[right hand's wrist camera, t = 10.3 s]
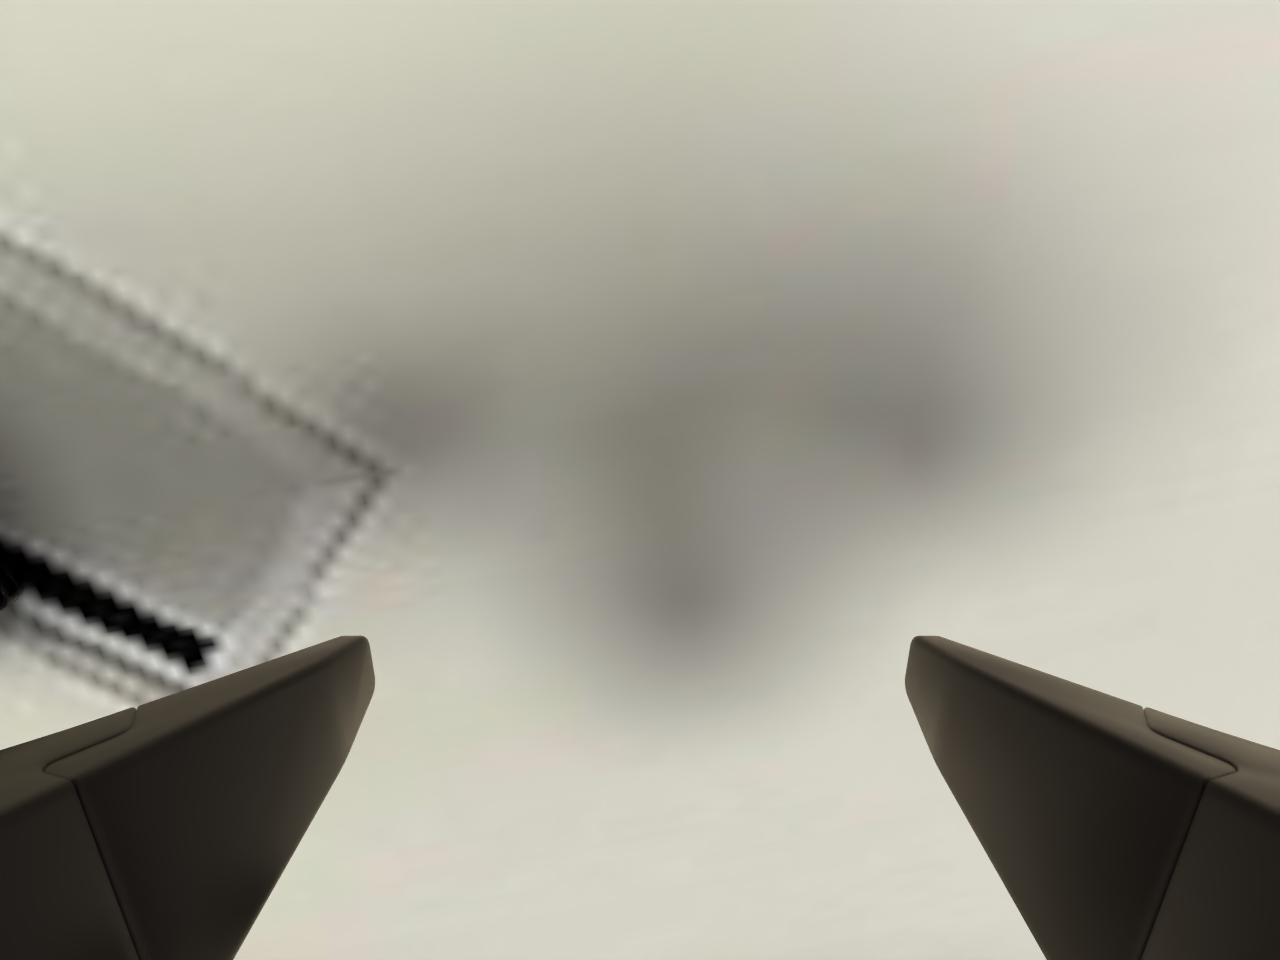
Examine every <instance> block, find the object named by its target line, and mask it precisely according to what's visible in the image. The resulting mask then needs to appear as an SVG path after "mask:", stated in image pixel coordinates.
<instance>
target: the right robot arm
mask: <svg viewBox="0 0 1280 960" xmlns="http://www.w3.org/2000/svg"><path fill="white" fill-rule="evenodd" d="M18 595H19V592H18V588H17V586H16V585H15V583H14V582H13V581H12V580H11V579H10V578H9V576H8V575H7V574H6V573H5V572H4V571H3V570H2V569H1V567H0V610H2V609H3V608H5V607H7V606H8V605H10V604H11V603H13V602H14V601H16V600H17V598H18ZM374 687H375V675H374V669H373V663H372V657H371V651H370V645H369V642H368V640H367V638H366V637H364V636H340V637H337V638H334V639H332V640H329V641H326V642H323V643H320V644H317V645H314V646H311V647H308V648H306V649H303V650H300V651H297V652H294V653H291V654H288V655H285V656H282V657H279V658H277V659H274V660H271V661H268V662H265V663H262V664H259V665H256V666H253V667H250V668H248V669H245V670H242V671H239V672H236V673H233V674H230V675H227V676H224V677H222V678H219V679H216V680H213V681H210V682H207V683H204V684H201V685H198V686H195V687H193V688H190V689H187V690H184V691H181V692H178V693H175V694H172V695H169V696H166V697H164V698H161V699H158V700H155V701H152V702H149V703H146V704H143V705H140V706H139V707H138V708H137V710H136V709H135V708H129V709H126V710H123V711H120V712H117V713H114V714H112V715H109V716H106V717H103V718H100V719H97V720H94V721H91V722H88V723H85V724H82V725H79V726H76V727H73V728H70V729H67V730H63V731H60V732H57V733H54V734H51V735H48V736H44V737H41V738H38V739H35V740H32V741H29V742H25V743H22V744H19V745H16V746H13V747H9V748H6V749H3V750H0V960H233V959H234V957H235V956H236V954H237V952H238V950H239V948H240V947H241V945H242V943H243V941H244V940H245V938H246V936H247V934H248V933H249V931H250V929H251V927H252V926H253V924H254V922H255V920H256V919H257V917H258V915H259V913H260V911H261V910H262V908H263V906H264V904H265V903H266V901H267V899H268V897H269V896H270V894H271V892H272V890H273V889H274V887H275V885H276V883H277V881H278V880H279V878H280V876H281V874H282V873H283V871H284V869H285V867H286V866H287V864H288V862H289V860H290V859H291V857H292V855H293V853H294V851H295V850H296V848H297V846H298V844H299V843H300V841H301V839H302V837H303V836H304V834H305V832H306V830H307V829H308V827H309V825H310V823H311V822H312V820H313V818H314V816H315V814H316V813H317V811H318V809H319V807H320V806H321V804H322V802H323V800H324V799H325V797H326V795H327V793H328V792H329V790H330V788H331V786H332V784H333V783H334V781H335V779H336V777H337V776H338V774H339V772H340V770H341V768H342V766H343V764H344V763H345V760H346V758H347V756H348V754H349V752H350V749H351V747H352V744H353V742H354V739H355V737H356V735H357V732H358V730H359V727H360V725H361V722H362V720H363V718H364V715H365V713H366V710H367V708H368V705H369V703H370V701H371V698H372V696H373V692H374ZM905 687H906V692H907V696H908V698H909V701H910V703H911V705H912V708H913V710H914V713H915V715H916V718H917V720H918V722H919V725H920V727H921V730H922V732H923V735H924V737H925V739H926V742H927V744H928V747H929V749H930V752H931V754H932V756H933V758H934V760H935V763H936V764H937V766H938V768H939V770H940V772H941V774H942V776H943V777H944V779H945V781H946V783H947V784H948V786H949V788H950V790H951V792H952V793H953V795H954V797H955V799H956V800H957V802H958V804H959V806H960V807H961V809H962V811H963V813H964V814H965V816H966V818H967V820H968V822H969V823H970V825H971V827H972V829H973V830H974V832H975V834H976V836H977V837H978V839H979V841H980V843H981V844H982V846H983V848H984V850H985V851H986V853H987V855H988V857H989V859H990V860H991V862H992V864H993V866H994V867H995V869H996V871H997V873H998V874H999V876H1000V878H1001V880H1002V881H1003V883H1004V885H1005V887H1006V889H1007V890H1008V892H1009V894H1010V896H1011V897H1012V899H1013V901H1014V903H1015V904H1016V906H1017V908H1018V910H1019V911H1020V913H1021V915H1022V917H1023V918H1024V920H1025V922H1026V924H1027V926H1028V927H1029V929H1030V931H1031V933H1032V934H1033V936H1034V938H1035V940H1036V941H1037V943H1038V945H1039V947H1040V948H1041V950H1042V952H1043V954H1044V956H1045V957H1046V959H1047V960H1280V750H1277V749H1274V748H1271V747H1267V746H1264V745H1261V744H1258V743H1255V742H1251V741H1248V740H1245V739H1242V738H1239V737H1236V736H1232V735H1229V734H1226V733H1223V732H1220V731H1217V730H1213V729H1210V728H1207V727H1204V726H1201V725H1198V724H1195V723H1192V722H1189V721H1186V720H1183V719H1180V718H1177V717H1174V716H1171V715H1168V714H1166V713H1163V712H1160V711H1157V710H1154V709H1151V708H1145V709H1144V710H1143V708H1142V707H1141V706H1140V705H1137V704H1134V703H1131V702H1128V701H1125V700H1122V699H1119V698H1116V697H1114V696H1111V695H1108V694H1105V693H1102V692H1099V691H1096V690H1093V689H1090V688H1087V687H1085V686H1082V685H1079V684H1076V683H1073V682H1070V681H1067V680H1064V679H1061V678H1058V677H1056V676H1053V675H1050V674H1047V673H1044V672H1041V671H1038V670H1035V669H1032V668H1030V667H1027V666H1024V665H1021V664H1018V663H1015V662H1012V661H1009V660H1006V659H1003V658H1001V657H998V656H995V655H992V654H989V653H986V652H983V651H980V650H977V649H974V648H972V647H969V646H966V645H963V644H960V643H957V642H954V641H951V640H948V639H946V638H943V637H940V636H916V637H914V638H913V640H912V642H911V645H910V651H909V657H908V663H907V669H906V675H905Z"/></svg>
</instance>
